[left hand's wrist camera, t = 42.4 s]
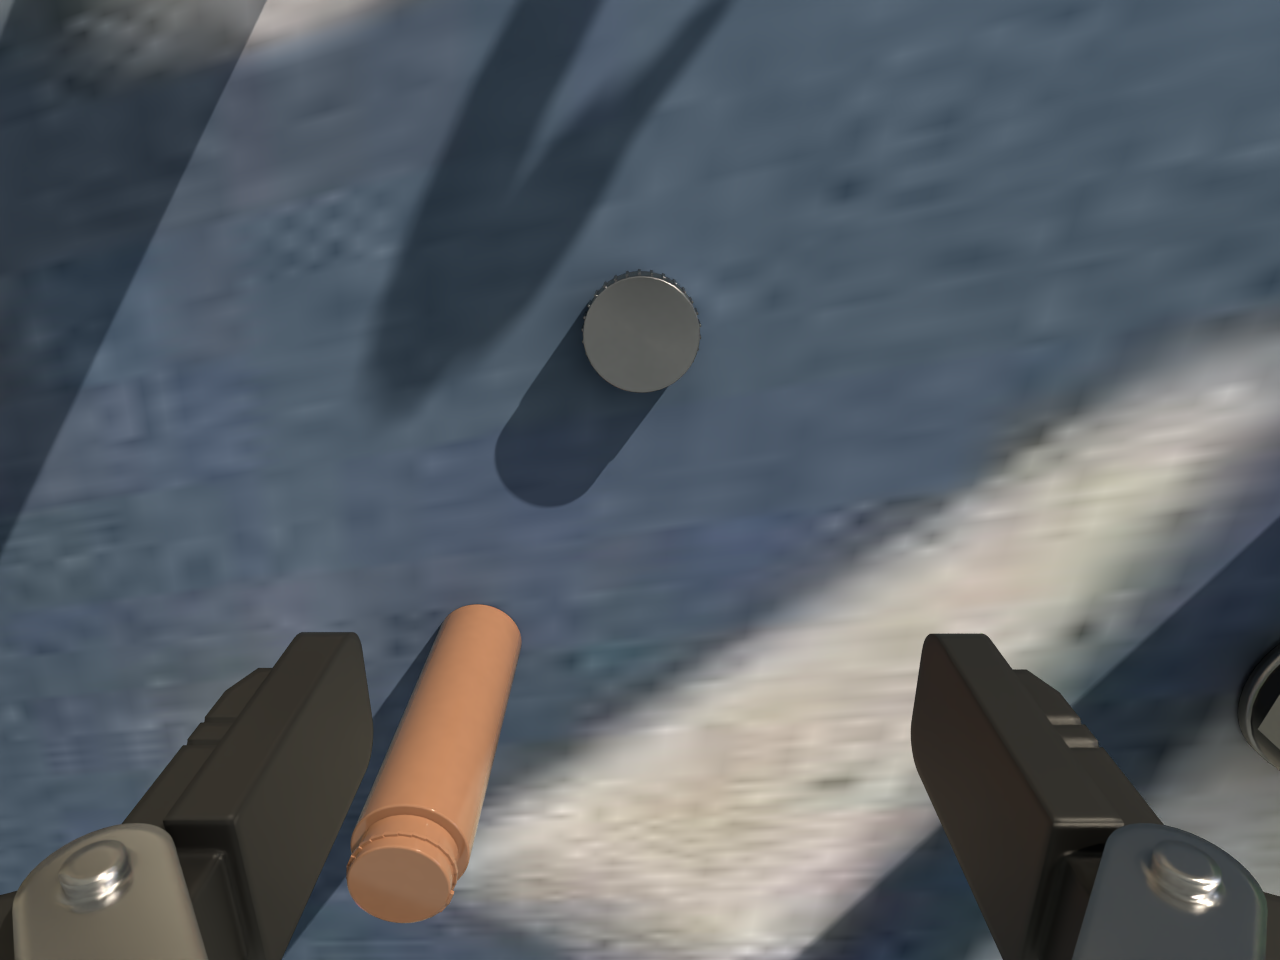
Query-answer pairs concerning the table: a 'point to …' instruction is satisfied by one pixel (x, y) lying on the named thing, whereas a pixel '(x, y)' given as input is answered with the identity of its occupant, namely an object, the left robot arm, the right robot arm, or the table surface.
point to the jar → (436, 771)
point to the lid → (641, 331)
